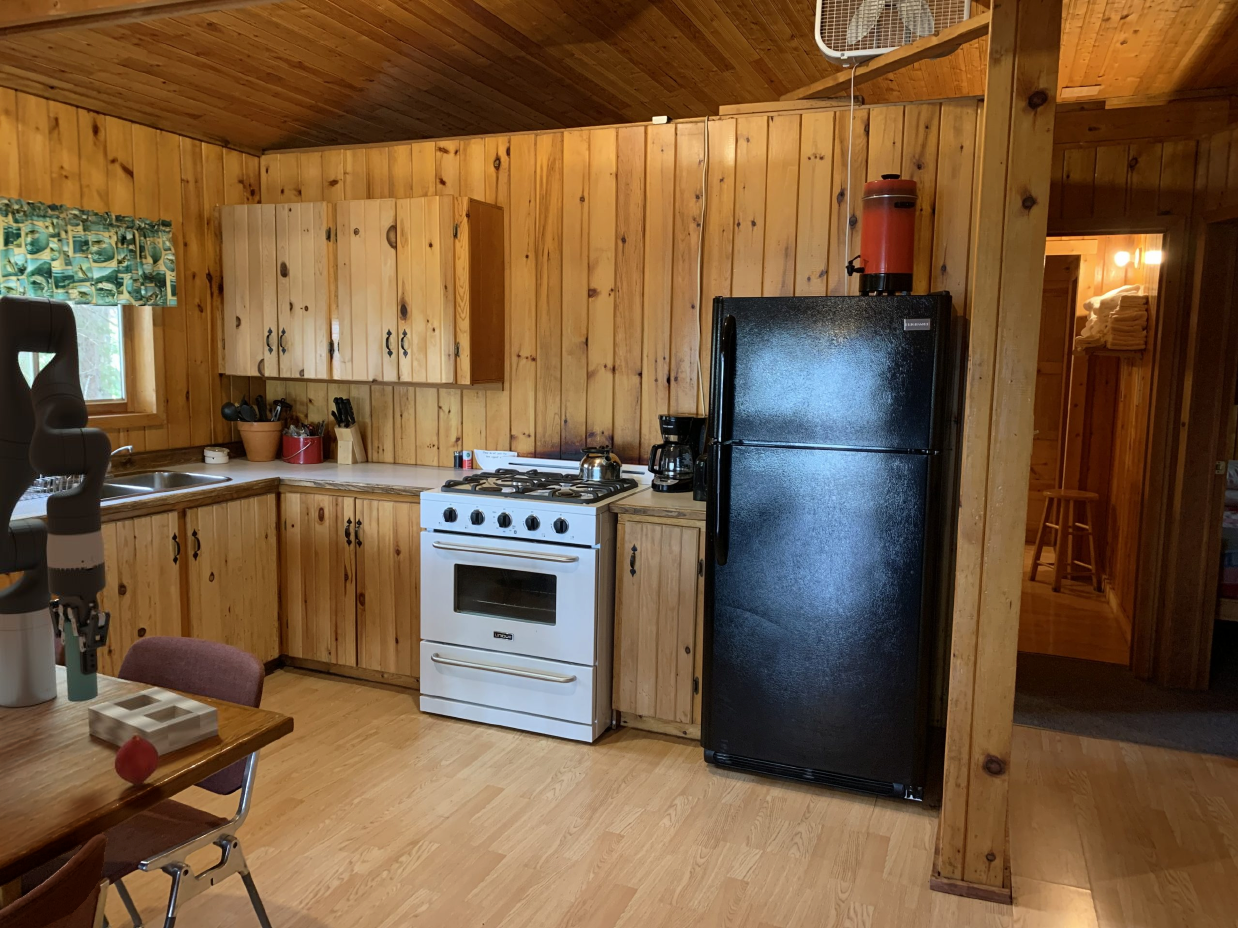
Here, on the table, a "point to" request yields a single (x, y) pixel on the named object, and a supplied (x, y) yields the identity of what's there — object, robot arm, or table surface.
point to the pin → (77, 670)
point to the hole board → (154, 720)
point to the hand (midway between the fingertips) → (81, 669)
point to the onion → (136, 760)
